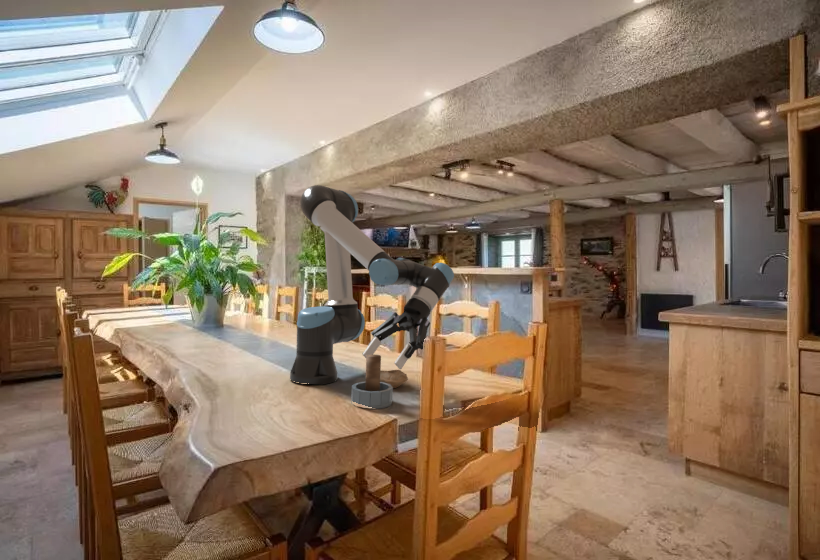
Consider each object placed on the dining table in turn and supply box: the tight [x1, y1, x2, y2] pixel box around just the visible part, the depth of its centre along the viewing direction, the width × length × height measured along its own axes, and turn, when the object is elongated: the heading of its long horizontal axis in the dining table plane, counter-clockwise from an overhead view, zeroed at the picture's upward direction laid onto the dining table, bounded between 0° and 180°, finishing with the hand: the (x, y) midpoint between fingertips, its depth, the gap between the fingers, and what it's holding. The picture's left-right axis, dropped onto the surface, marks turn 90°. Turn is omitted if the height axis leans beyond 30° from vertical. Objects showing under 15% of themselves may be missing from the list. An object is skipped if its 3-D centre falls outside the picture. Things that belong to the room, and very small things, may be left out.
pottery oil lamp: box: [380, 369, 409, 389], centre depth 138 cm, size 9×12×7 cm
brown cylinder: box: [365, 354, 382, 391], centre depth 119 cm, size 4×4×12 cm
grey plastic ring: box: [350, 381, 394, 410], centre depth 119 cm, size 11×11×4 cm
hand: (380, 361), depth 120 cm, fingers open, 13 cm apart
